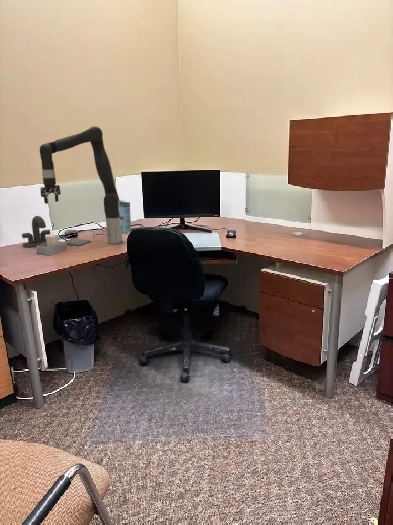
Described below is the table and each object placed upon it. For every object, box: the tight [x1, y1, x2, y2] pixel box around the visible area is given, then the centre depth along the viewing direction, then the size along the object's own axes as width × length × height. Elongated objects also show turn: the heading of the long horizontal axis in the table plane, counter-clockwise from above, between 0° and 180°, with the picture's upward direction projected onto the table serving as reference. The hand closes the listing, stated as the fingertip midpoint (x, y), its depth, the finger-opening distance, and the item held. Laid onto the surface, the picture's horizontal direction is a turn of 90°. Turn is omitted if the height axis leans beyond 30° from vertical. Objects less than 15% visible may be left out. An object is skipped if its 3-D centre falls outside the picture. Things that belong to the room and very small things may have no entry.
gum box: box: [118, 199, 132, 235], centre depth 310 cm, size 20×5×23 cm, turn 39°
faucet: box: [21, 215, 51, 249], centre depth 272 cm, size 18×16×20 cm
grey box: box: [35, 241, 68, 256], centre depth 260 cm, size 10×15×5 cm
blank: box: [45, 234, 59, 247], centre depth 260 cm, size 5×4×10 cm
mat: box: [65, 238, 92, 247], centre depth 280 cm, size 14×12×1 cm
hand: (51, 202), depth 266 cm, fingers open, 8 cm apart
